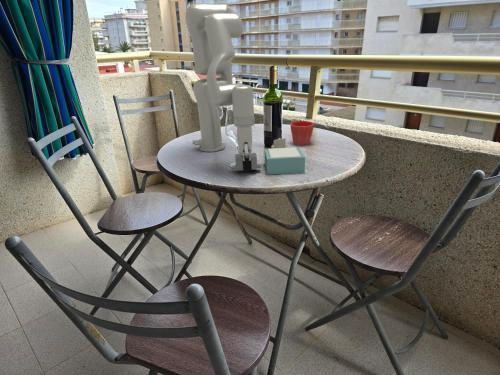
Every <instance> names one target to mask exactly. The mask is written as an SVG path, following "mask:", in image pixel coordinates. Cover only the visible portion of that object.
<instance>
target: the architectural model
mask: <svg viewBox="0 0 500 375" xmlns="http://www.w3.org/2000/svg"><path fill="white" fill-rule="evenodd" d="M286 140H287V139H286V138H280V137H279V138H278V139H277V138H276V139H274V140H273V144H272V145H271V146H270V149H275V148H289V147H288V145H287V144H286V142H287V141H286Z"/></svg>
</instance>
